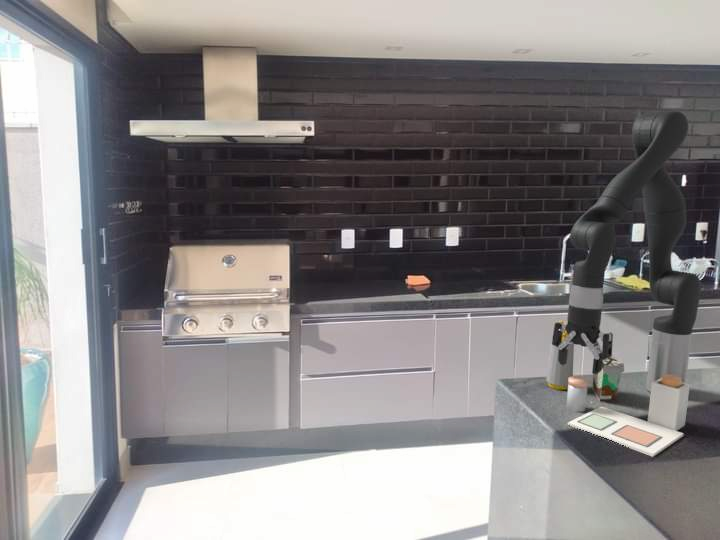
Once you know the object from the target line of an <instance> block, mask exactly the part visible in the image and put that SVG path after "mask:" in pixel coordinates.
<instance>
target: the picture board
mask: <svg viewBox="0 0 720 540" xmlns="http://www.w3.org/2000/svg"><path fill="white" fill-rule="evenodd" d="M569 425H570V426H569ZM567 426H569V427H571V426H572V427H571V428H574V427H575V428H574V429H577V428H578V429H577V430H579V429H581V430H580V431H582V430H584V431H583V432H585V431H587V432H590V433H592V434H591V435H593V434H595V435H594V436H596V435H598V436H601V437H604V438H607V439H609V440H612V441H614V442H617V443H619V444H618V445H620V444H621V445H620V446H622V445H624V446H623V447H625V446H626V447H625V448H628V447H629V448H628V449H631V450H634V451H636V452H638V453H642V454H644V455H647V456H650V457H652V458H653V457H655V456H656V455H658V454H659V453H661V452H662V451H663V450H665V449H666V448H668V447H669V446H671V445H673V443H675V442H677V441H678V440H680V439H681V438H683V437H684V433H683V432H681V431H678V430H677V431H675V430H672V429H669V428H666V427H663V426H660V425H657V424H653V423H650V422H648V420H647V421H646V420H644V419H641V418H637V417H635V416H631V415H628V414H626V413H622V412H620V411H616V410H614V409H611V408H607V407H604V406H599V407H598V408H595V409H593V410H591V411H588V412H587V413H584V414H583V415H580V416H579V417H576V418H574V419H573V420H570V421H569V422H567ZM587 432H586V433H587ZM590 433H589V434H590ZM598 436H597V437H598ZM601 437H600V438H601ZM604 438H603V439H604ZM609 440H608V441H609ZM612 441H611V442H612ZM614 442H613V443H614ZM617 443H616V444H617Z"/></svg>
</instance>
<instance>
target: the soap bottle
mask: <svg viewBox="0 0 720 540" xmlns="http://www.w3.org/2000/svg"><path fill="white" fill-rule="evenodd" d="M558 322H563V323H564V324H567V323H566V322H564V320H558ZM567 336H568V334H567V332H566V329H565V331H563V335H562V341H561V342H563V340H564V339H565V338H566V337H567ZM549 350H550V351H549V358H548V364H547V373H546V379H545V380H546V382H547V384H548V386H549V387H550V388H551V389H555V390H562V391H563V390H564V391H566V390H568V378H569V377H572V376H574V352H575V344H573V343H572V344H570V345H569V346H568V347H567V350H568V354H567V363H566V364H565V365H561V364H560V362H559V361H558V356H559V348H558V347H556V346H553V345H552V341H551V343H550V349H549Z"/></svg>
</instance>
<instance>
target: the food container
mask: <svg viewBox="0 0 720 540" xmlns="http://www.w3.org/2000/svg"><path fill="white" fill-rule="evenodd" d="M594 359H595V358H594V357H593V360H594ZM624 372H625V366H624V362H623V360H622V359H621V358H619V357H616V356H614V355H612V356H611V357H609V358H607V359H603V363H602V370H601V372H599V373H598V374H593V373H592V374H593V375H592V376H593V377H592V391H593V392H594V395H595V396H596V398H597V399H598V401H599V403H600V402H603V403H610V402H614V401H616V400H617V396H618V391H619V384H620V380H621V376H622V375H621V374H622V373H624Z"/></svg>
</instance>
